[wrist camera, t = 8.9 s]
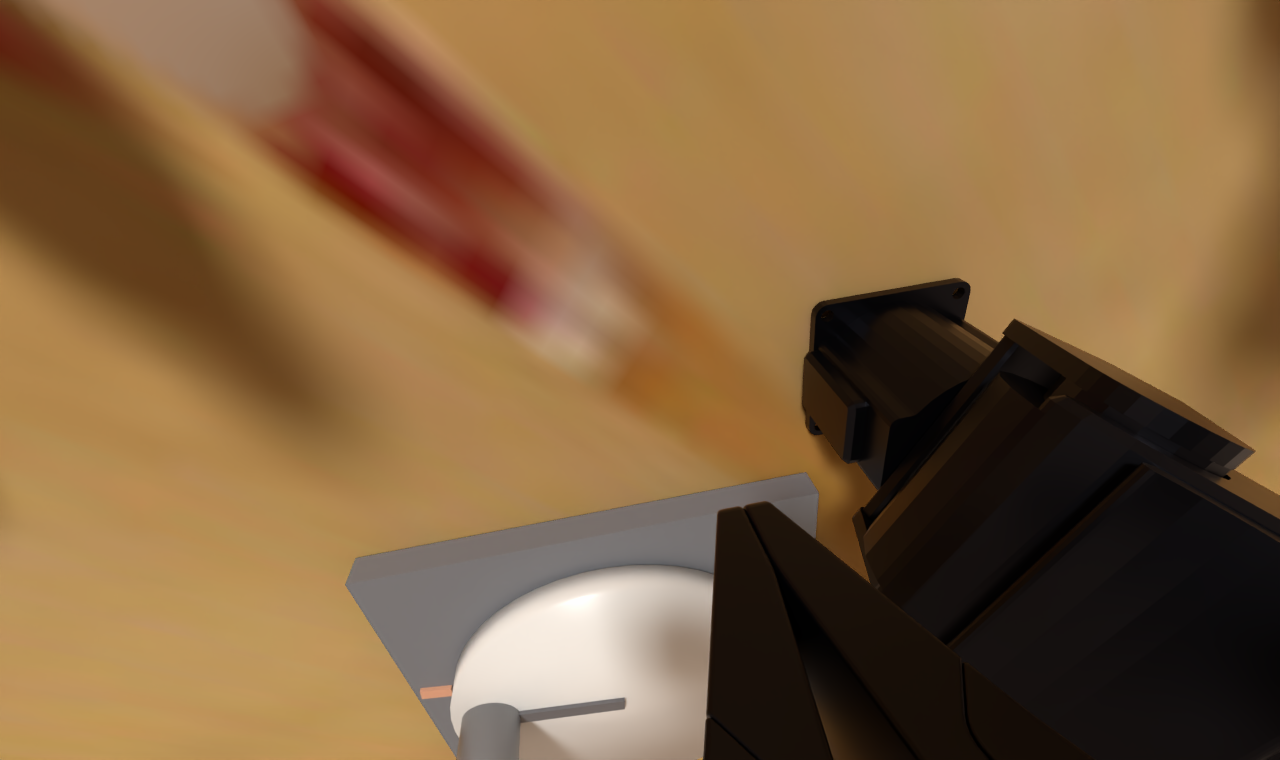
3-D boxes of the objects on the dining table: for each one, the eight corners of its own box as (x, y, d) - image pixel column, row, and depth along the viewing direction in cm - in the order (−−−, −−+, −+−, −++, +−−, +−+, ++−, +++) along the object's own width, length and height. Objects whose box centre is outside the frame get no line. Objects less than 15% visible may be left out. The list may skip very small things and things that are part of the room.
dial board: (806, 472, 26) (820, 496, 25) (792, 704, 38) (802, 730, 37) (355, 558, 25) (343, 588, 24) (483, 770, 37) (480, 800, 35)
